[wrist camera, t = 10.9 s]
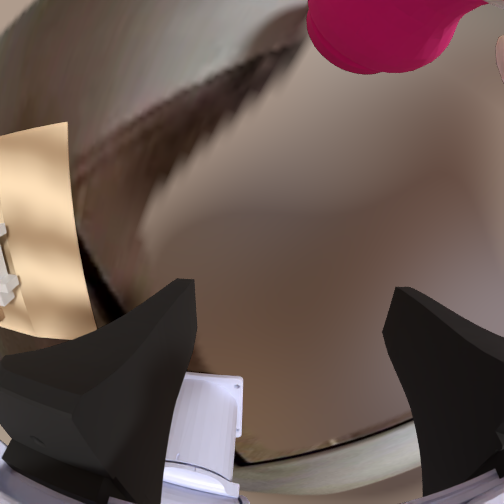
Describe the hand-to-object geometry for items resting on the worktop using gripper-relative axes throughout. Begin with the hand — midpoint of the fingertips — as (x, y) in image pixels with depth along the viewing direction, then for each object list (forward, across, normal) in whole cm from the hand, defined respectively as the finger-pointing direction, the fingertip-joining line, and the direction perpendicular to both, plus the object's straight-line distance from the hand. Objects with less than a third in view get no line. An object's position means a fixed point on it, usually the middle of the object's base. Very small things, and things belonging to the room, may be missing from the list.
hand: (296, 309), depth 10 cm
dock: (+10, +24, +2) cm, 26 cm away
